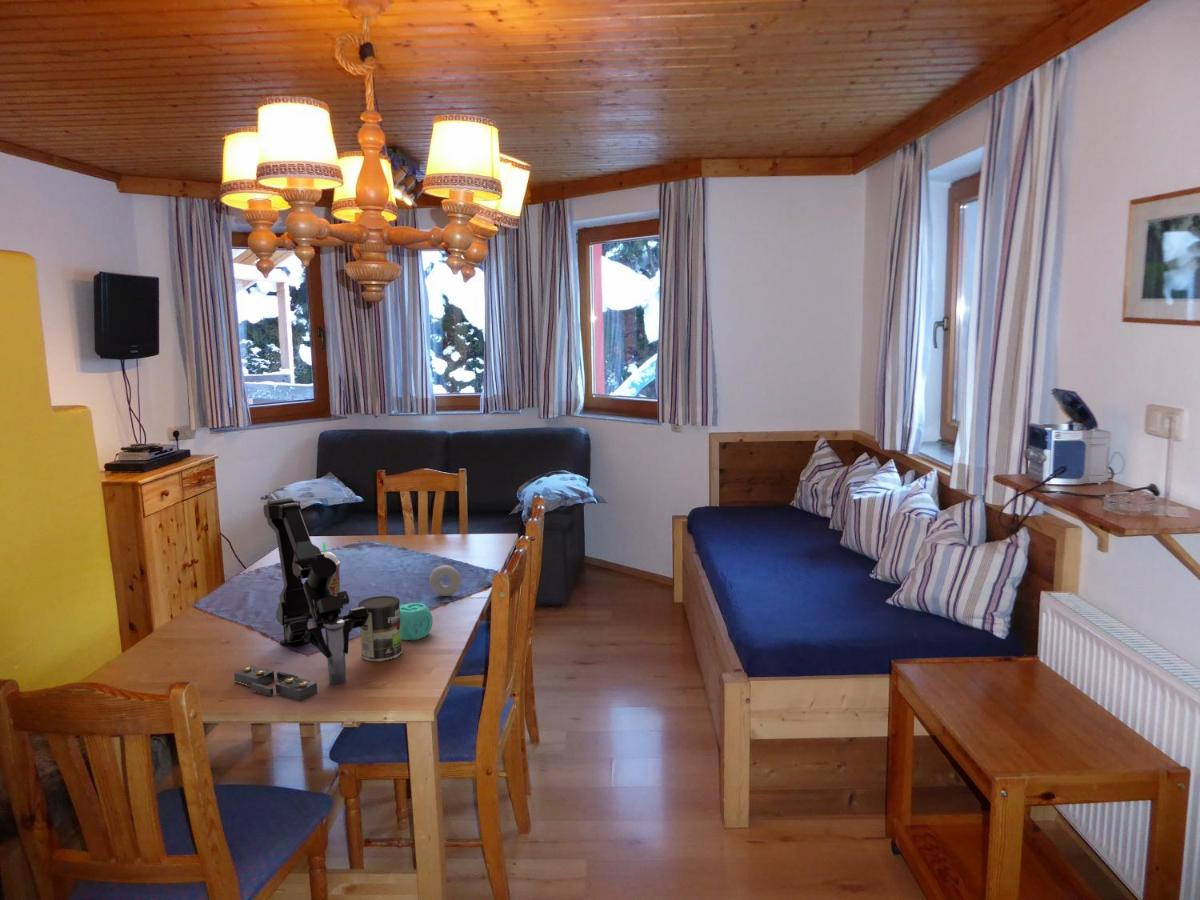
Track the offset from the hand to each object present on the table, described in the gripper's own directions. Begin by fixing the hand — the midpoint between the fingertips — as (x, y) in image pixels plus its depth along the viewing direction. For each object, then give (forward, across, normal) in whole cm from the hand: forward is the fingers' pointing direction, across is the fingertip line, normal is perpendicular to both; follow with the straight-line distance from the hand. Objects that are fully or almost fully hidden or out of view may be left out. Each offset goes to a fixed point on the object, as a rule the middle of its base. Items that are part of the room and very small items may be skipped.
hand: (337, 655), depth 199 cm
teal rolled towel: (-8, +27, +19) cm, 34 cm away
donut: (-27, +49, +37) cm, 67 cm away
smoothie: (-36, +16, +47) cm, 61 cm away
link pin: (+4, 0, +6) cm, 7 cm away
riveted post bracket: (0, -13, +10) cm, 16 cm away
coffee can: (-3, +15, +14) cm, 20 cm away
